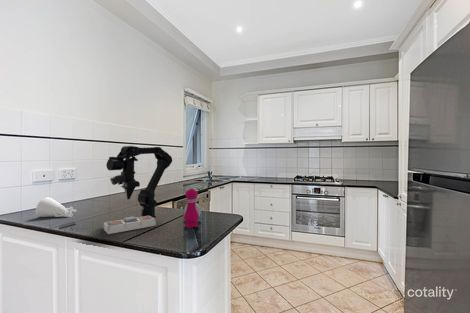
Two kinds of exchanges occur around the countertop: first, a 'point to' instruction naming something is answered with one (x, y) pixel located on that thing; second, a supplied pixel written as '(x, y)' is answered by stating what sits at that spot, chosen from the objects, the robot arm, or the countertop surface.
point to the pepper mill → (191, 208)
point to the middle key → (130, 219)
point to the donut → (196, 209)
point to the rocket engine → (53, 209)
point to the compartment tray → (129, 225)
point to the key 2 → (144, 218)
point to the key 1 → (114, 223)
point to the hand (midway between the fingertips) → (128, 199)
